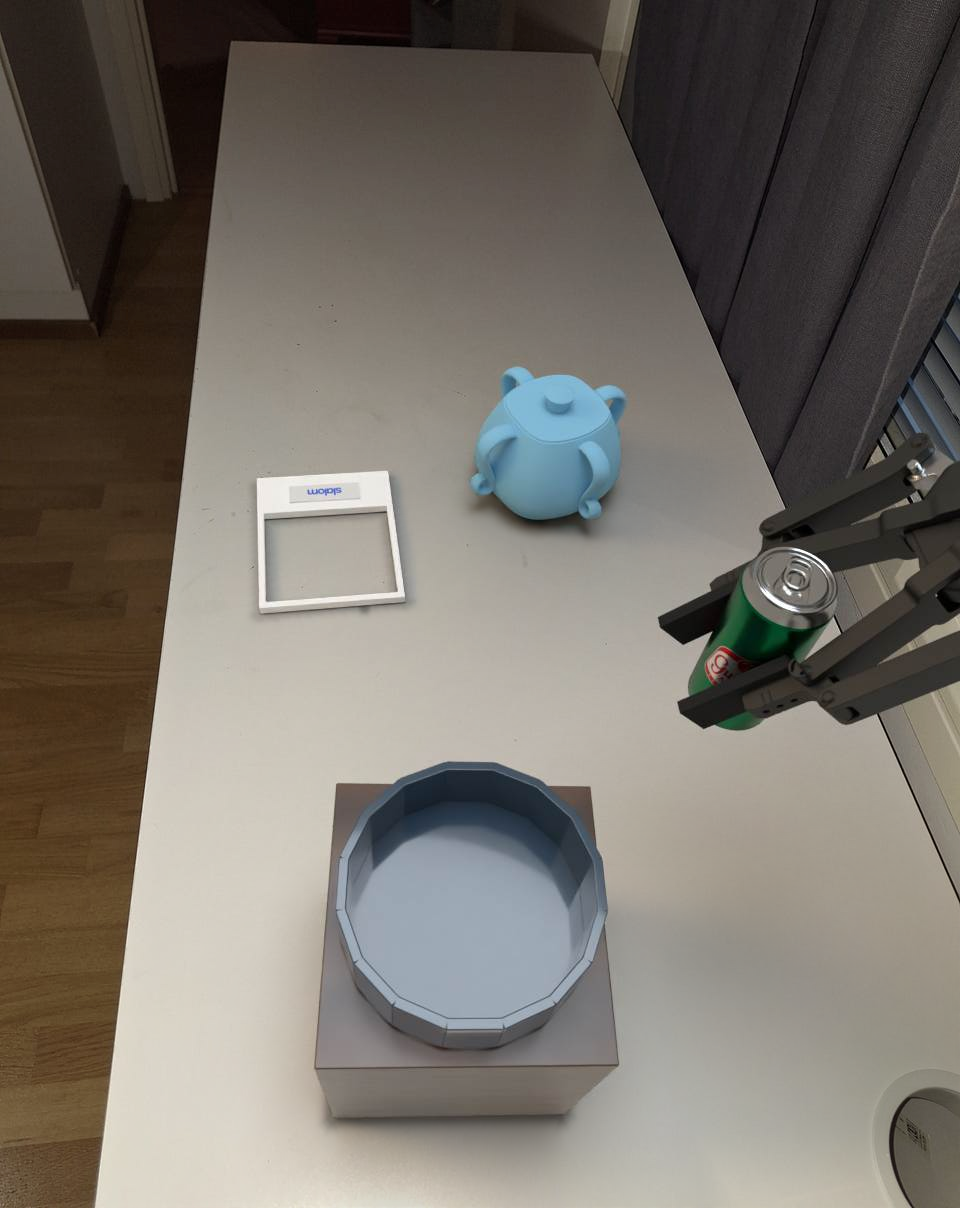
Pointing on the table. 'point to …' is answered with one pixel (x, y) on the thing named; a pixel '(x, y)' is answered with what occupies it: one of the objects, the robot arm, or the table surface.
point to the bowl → (469, 903)
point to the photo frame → (325, 499)
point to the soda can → (767, 620)
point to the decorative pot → (550, 445)
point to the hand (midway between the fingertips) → (680, 671)
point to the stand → (445, 1075)
